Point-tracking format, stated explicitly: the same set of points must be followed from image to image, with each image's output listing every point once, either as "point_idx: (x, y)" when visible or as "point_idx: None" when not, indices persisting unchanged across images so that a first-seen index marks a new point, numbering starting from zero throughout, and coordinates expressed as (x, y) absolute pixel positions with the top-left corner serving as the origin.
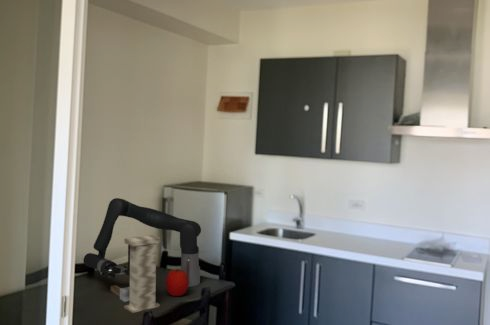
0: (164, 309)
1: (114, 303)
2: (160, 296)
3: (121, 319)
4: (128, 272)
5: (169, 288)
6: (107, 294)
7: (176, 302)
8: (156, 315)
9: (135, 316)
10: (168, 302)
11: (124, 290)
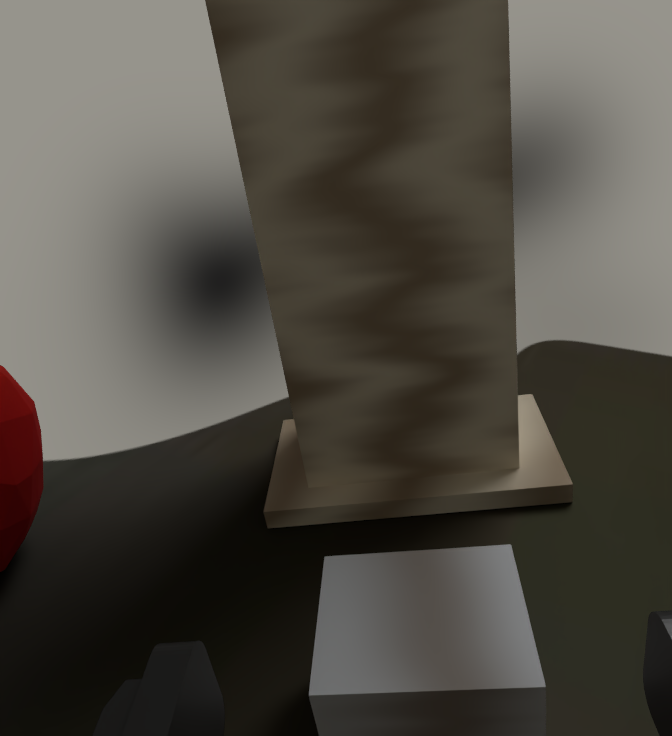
0: None
1: None
2: (78, 611)
3: (641, 360)
4: (204, 666)
5: (42, 459)
6: None
7: (135, 452)
8: None
9: (530, 369)
10: (174, 470)
11: (495, 578)
